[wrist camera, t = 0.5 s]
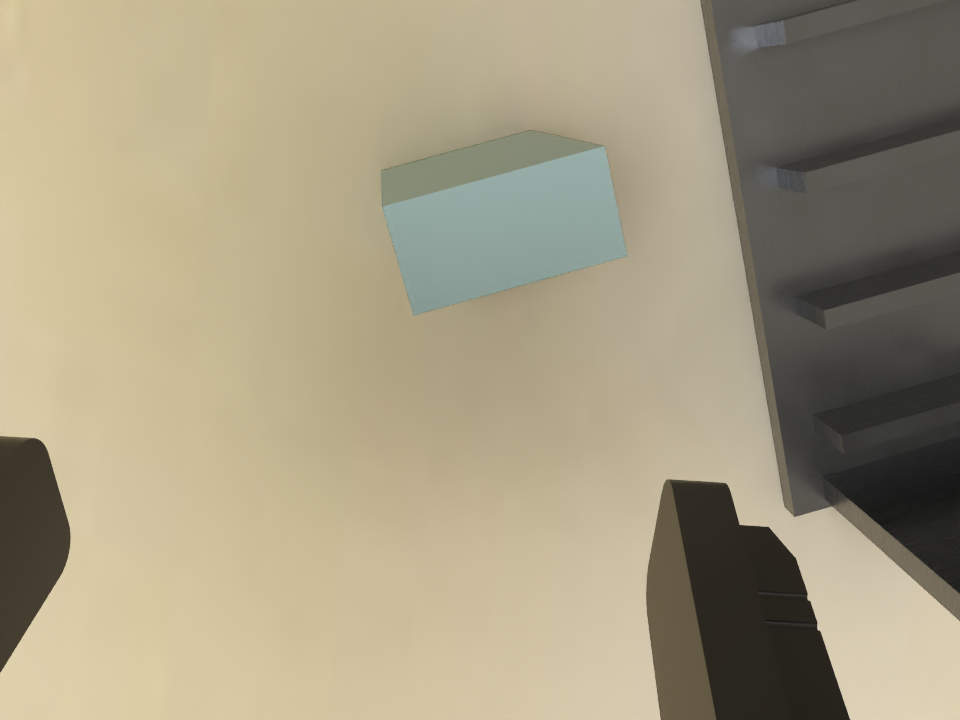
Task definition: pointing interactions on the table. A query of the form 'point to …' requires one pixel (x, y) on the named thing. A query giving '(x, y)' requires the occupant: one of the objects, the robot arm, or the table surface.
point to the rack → (854, 256)
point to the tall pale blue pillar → (500, 216)
